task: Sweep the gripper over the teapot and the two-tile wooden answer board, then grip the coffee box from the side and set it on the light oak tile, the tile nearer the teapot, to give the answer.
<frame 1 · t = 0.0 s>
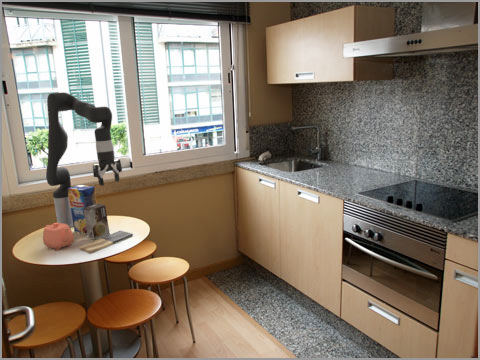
hand: (109, 183, 187), 29 cm above the table, tool pointing down, fingers open, 8 cm apart
teapot: (60, 247, 191), on the table
answer board: (106, 242, 193), on the table
coffee box: (98, 236, 202), on the table
juice carton: (87, 230, 211), on the table
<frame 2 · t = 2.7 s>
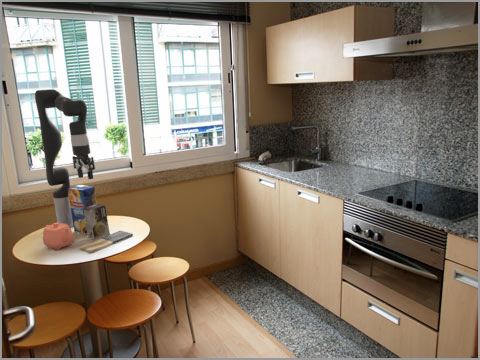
hand: (85, 178, 185), 33 cm above the table, tool pointing down, fingers open, 8 cm apart
nothing on the table moved.
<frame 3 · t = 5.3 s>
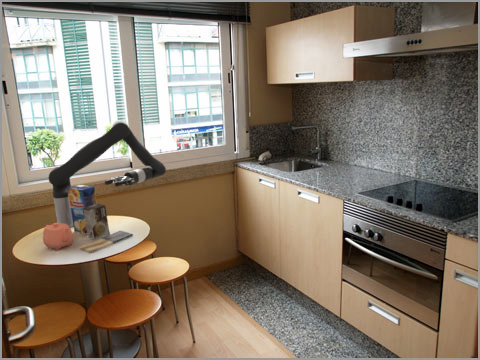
hand: (110, 183, 204), 25 cm above the table, tool horizontal, fingers open, 8 cm apart
nothing on the table moved.
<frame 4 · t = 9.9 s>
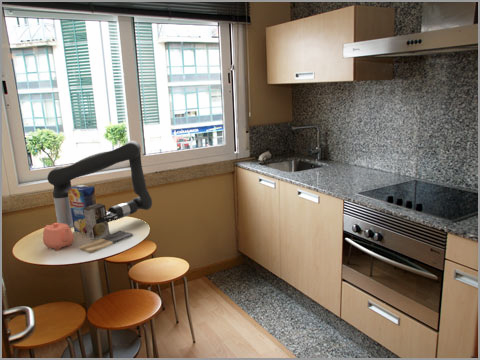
hand: (92, 220, 198), 9 cm above the table, tool horizontal, fingers closed on coffee box, 6 cm apart
coffee box: (98, 236, 202), on the table, touching gripper
everything else where it was.
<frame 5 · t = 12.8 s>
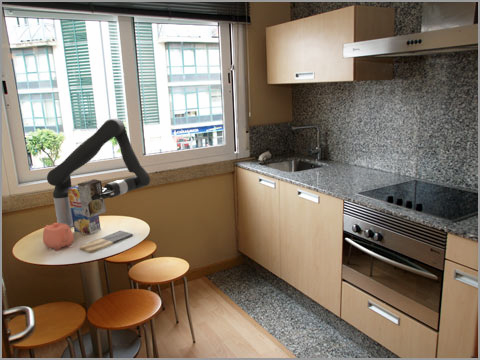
hand: (87, 197, 186), 24 cm above the table, tool horizontal, fingers closed on coffee box, 6 cm apart
coffee box: (94, 214, 190), point 14 cm above the table, touching gripper
everything else where it was.
when the fingers open (11 cm above the table, at t = 16.1 s): coffee box drops 1 cm, resting on answer board.
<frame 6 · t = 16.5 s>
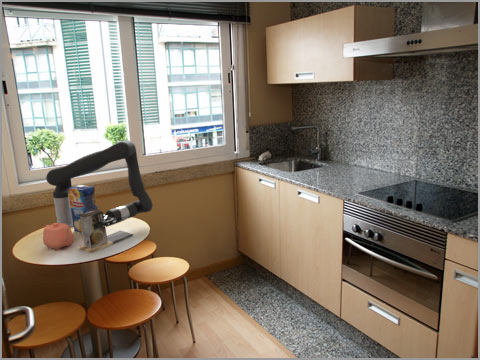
hand: (89, 225, 184), 12 cm above the table, tool horizontal, fingers open, 8 cm apart
coffee box: (96, 244, 188), point 1 cm above the table, touching answer board
everything else where it was.
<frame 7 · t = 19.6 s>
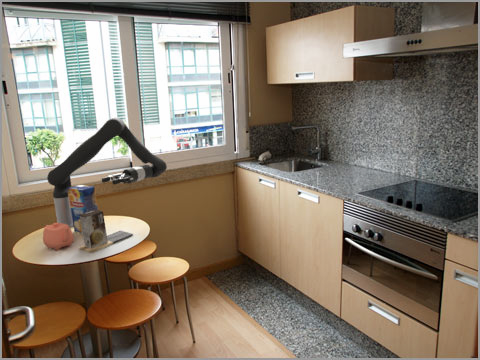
hand: (107, 181, 190), 30 cm above the table, tool horizontal, fingers open, 8 cm apart
nothing on the table moved.
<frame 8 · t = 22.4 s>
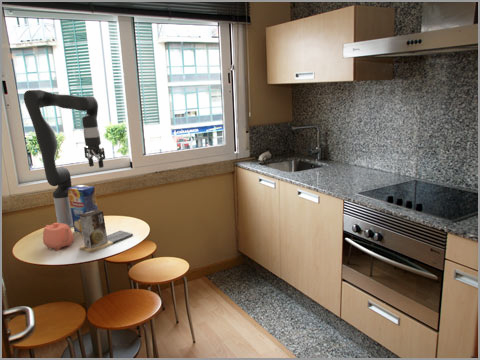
hand: (96, 166, 205), 34 cm above the table, tool pointing down, fingers open, 8 cm apart
nothing on the table moved.
at the end: coffee box inside the target area (0.5 cm from its centre), point 0.8 cm above the table; coffee box tilted 0°; the gripper is holding nothing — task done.
